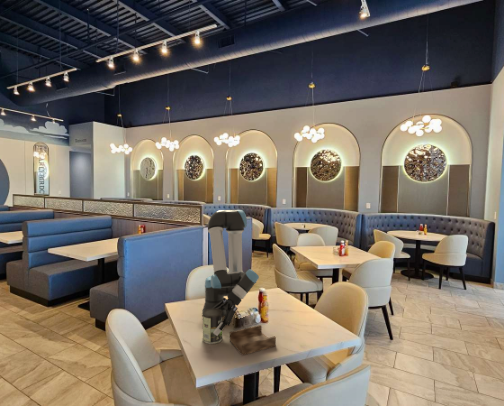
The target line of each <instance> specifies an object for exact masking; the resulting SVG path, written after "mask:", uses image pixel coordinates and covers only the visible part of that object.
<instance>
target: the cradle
mask: <svg viewBox="0 0 504 406" xmlns="http://www.w3.org/2000/svg"><path fill="white" fill-rule="evenodd" d="M262 328H263V327H262V325H261V324H258V325H253V326H250V327H245V328H240V329H238V330H237V329H236V330H232V331H229V341H230V342H231V344H232V345H233V346H234V347H235V348H236V350H238V352H239V353H240V354H241V355H242V356H245V355H250V354H252V353H253V354H254V353H257V352H259V351H263V350H264V351H265V350H267V349H270V348H274V347H276V345H277V341H276V338H277V337H276V336H269V337H268V336H267V335H266V334H264V332H262V330H263V329H262Z"/></svg>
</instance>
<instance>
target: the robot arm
mask: <svg viewBox="0 0 504 406" xmlns="http://www.w3.org/2000/svg"><path fill="white" fill-rule="evenodd" d="M247 227H248V218H247V215H246V212H245V211H244V210H242V209H219V210H217V211H215V212H214V213H212V214H211V216H210V217H209V220H208V224H207V232H208V233H209V237H210V238H209V239H210V246H211V257H212V267H213V274H212V275H210V276H207V278H205V281H204V305H203V308H202V309H201V312H202V313H201V314H203V311H205V310H207V309H213V308H215V309H220V310H222V311H223V314H222V318H223V319H222V322H221V323H220V324H219V326H218V327H217V328H216V330H215V331H214V332H213V333H214V334H215V335H216V336H218V335H219V333H220V332H221V331H222V332H223V330H224V328H225V327H226V326H228V327H230V326H231V324H232V321H233V319H234V316H235V314H236V312H237V311H238V307H237V306H239V305H240V303H241V302H242V300H244V298H245V297H246V296H247V294H248V293H249V292H250V290H251V289H252V288H253V287H254V286H255V285H256V284H257V281H258V280H259V279H260V277H259V275H258V274H257V272H255V270H252V269H250V268H249V269H247V270H246V271H245V272H244V271H243V242H242V241H243V235H242V234H243V232H244V231H245V229H246V228H247ZM224 231H226V233H228V234H227V235H228V268H227V259H226V253H225V252H226V250H225V244H224V236H223V235H224V234H223V232H224ZM226 297H227V298H226Z"/></svg>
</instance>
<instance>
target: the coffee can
mask: <svg viewBox="0 0 504 406" xmlns="http://www.w3.org/2000/svg"><path fill="white" fill-rule="evenodd" d="M222 314H223V311H222V310H220V309H215V308H213V309H207V310H205V311H203V315H202V342H204V343H205V344H210V345H214V344H218V343H221V341H223V330H222V331H221V332H220V333H219V335H218V336H216V335H215V334H214V333H213V332H214V331H215V330H216V328H217V327H218V326H219V324H220V323H221V322H222V321H223V317H222Z"/></svg>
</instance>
